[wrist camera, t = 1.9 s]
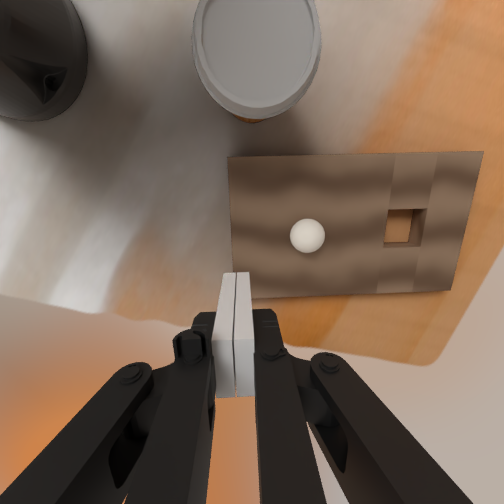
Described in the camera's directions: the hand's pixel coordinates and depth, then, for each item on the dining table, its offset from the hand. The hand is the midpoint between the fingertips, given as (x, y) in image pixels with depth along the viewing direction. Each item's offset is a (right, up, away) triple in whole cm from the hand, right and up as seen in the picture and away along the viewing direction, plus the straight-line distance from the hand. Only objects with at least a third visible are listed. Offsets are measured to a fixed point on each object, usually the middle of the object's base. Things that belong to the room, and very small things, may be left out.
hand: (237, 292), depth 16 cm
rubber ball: (+7, +4, +13) cm, 16 cm away
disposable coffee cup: (+1, +21, +13) cm, 25 cm away
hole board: (+13, +6, +18) cm, 23 cm away
